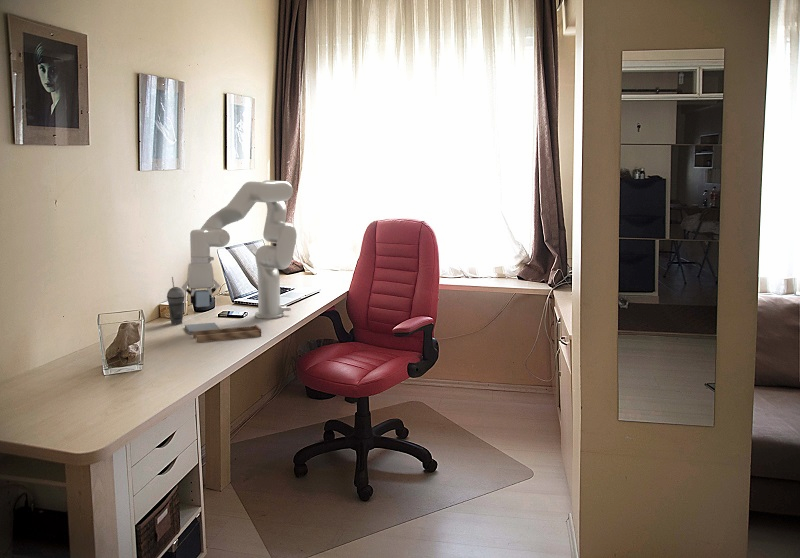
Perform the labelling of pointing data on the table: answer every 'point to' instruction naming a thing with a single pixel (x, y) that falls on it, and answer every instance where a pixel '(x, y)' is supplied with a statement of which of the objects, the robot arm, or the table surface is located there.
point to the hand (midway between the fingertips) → (201, 304)
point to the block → (202, 298)
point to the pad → (200, 327)
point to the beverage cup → (175, 304)
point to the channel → (227, 333)
